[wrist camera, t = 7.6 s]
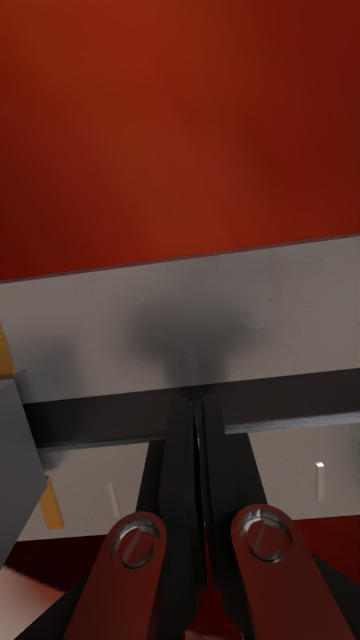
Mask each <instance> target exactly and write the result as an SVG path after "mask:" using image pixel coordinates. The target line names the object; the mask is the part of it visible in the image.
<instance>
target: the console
mask: <svg viewBox="0 0 360 640" xmlns="http://www.w3.org/2000/svg"><path fill="white" fill-rule="evenodd" d="M8 379H14V381H15V384H16V387H17V390H18V393H19V396H20V400H21V403H22V406H23V409H24V412H25V415H26V418H27V421H28V424H29V427H30V430H31V434H32V437H33V440H34V443H35V446H36V449H37V452H38V455H39V458H40V461H41V464H42V468H43V471H44V474H45V477H46V480H47V483H48V486H47V488H46V489H45V491H44V493H43V495H42V496H41V498H40V500H39V502H38V504H37V505H36V507H35V509H34V511H33V513H32V514H31V516H30V518H29V520H28V521H27V523H26V525H25V527H24V529H23V530H22V532H21V534H20V536H19V538H18V539H17V541H26V540H39V539H52V538H65V537H78V536H90V535H103V534H108V533H109V531H110V529H111V528H112V527H113V526H114V525H115V524H116V523H117V522H118V521H119V520H120V519H122V518H123V517H125V516H126V515H129V514H132V513H134V512H135V510H136V505H137V500H138V495H139V490H140V485H141V480H142V475H143V470H144V465H145V460H146V455H147V450H148V445H149V442H150V441H151V440H163V439H166V432H167V424H168V416H169V408H170V400H171V399H178V398H186V399H187V402H192V401H193V406H194V414H195V421H196V428H197V436H198V443H199V428H198V401H203V396H210V395H219V399H220V405H221V411H222V417H223V423H224V428H225V434H234V433H246V432H247V433H248V436H249V439H250V443H251V446H252V450H253V453H254V457H255V460H256V464H257V467H258V471H259V474H260V478H261V481H262V485H263V488H264V492H265V495H266V499H267V502H268V505H271V506H274V507H276V508H278V509H280V510H282V511H283V512H284V513H285V514H286V515H288V516H289V517H290V518H291V520H296V519H309V518H322V517H335V516H347V515H360V232H359V233H352V234H344V235H337V236H329V237H322V238H314V239H307V240H299V241H292V242H285V243H277V244H270V245H262V246H255V247H247V248H240V249H232V250H225V251H218V252H210V253H203V254H195V255H188V256H180V257H173V258H165V259H158V260H151V261H143V262H136V263H128V264H121V265H113V266H106V267H98V268H91V269H84V270H76V271H69V272H61V273H54V274H46V275H39V276H31V277H24V278H17V279H9V280H2V281H0V380H8ZM204 523H205V521H204Z"/></svg>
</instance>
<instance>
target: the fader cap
mask: <svg viewBox="0 0 360 640" xmlns="http://www.w3.org/2000/svg"><path fill="white" fill-rule="evenodd" d="M47 486H48V483H47V480H46V477H45V474H44V471H43V468H42V464H41V461H40V458H39V455H38V452H37V449H36V446H35V443H34V440H33V437H32V434H31V430H30V427H29V424H28V421H27V418H26V415H25V412H24V409H23V406H22V403H21V400H20V396H19V393H18V390H17V387H16V384H15V381H14V379H8V380H0V570H1V568H2V566H3V564H4V563H5V561H6V559H7V557H8V555H9V554H10V552H11V550H12V548H13V546H14V545H15V543H16V541H17V539H18V538H19V536H20V534H21V532H22V530H23V529H24V527H25V525H26V523H27V521H28V520H29V518H30V516H31V514H32V513H33V511H34V509H35V507H36V505H37V504H38V502H39V500H40V498H41V496H42V495H43V493H44V491H45V489H46V488H47Z"/></svg>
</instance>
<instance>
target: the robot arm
mask: <svg viewBox="0 0 360 640" xmlns="http://www.w3.org/2000/svg"><path fill="white" fill-rule="evenodd" d="M198 428H199V443H198V436H197V428H196V421H195V414H194V406H193V401H192V402H187V399H186V398H178V399H171V400H170V408H169V416H168V424H167V432H166V439H163V440H151V441H150V442H149V445H148V450H147V455H146V460H145V465H144V470H143V475H142V480H141V485H140V490H139V495H138V500H137V505H136V510H135V512H134V513H132V514H129V515H126V516H125V517H123V518H122V519H120V520H119V521H118V522H117V523H116V524H115V525H114V526H113V527H112V528H111V529H110V531H109V533H108V534H107V536H106V538H105V540H104V542H103V545H102V547H101V549H100V552H99V554H98V556H97V559H96V561H95V563H94V566H93V568H92V570H91V571H89V572H88V573H87V574H86V575H85V576H84V577H83V578H82V579H81V580H79V581H78V582H77V583H76V584H75V585H74V586H73V587H72V588H71V589H69V590H68V591H67V592H66V593H65V594H64V595H63V596H62V597H61V598H60V599H58V600H57V601H56V602H55V603H54V604H53V605H52V606H51V607H49V608H48V609H47V610H46V611H45V612H44V613H43V614H42V615H41V616H39V617H38V618H37V619H36V620H35V621H34V622H33V623H32V624H30V625H29V626H28V627H27V628H26V629H25V630H24V631H23V632H22V633H20V635H18V636H17V637H16V638H15V639H14V640H185V628H186V627H187V626H188V624H189V623H190V622H191V620H192V619H193V618H194V616H195V615H196V614H197V607H200V590H206V589H207V566H206V545H205V528H206V536H207V543H208V550H209V557H210V564H211V571H212V579H213V586H214V589H221V592H222V600H223V607H224V613H225V614H226V615H227V616H228V617H229V618H230V619H231V621H232V622H233V623H234V624H235V625H236V626H237V627H238V628H239V629H240V630H241V632H242V639H243V640H360V586H359V585H357V584H356V583H354V582H353V581H351V580H350V579H349V578H347V577H346V576H344V575H343V574H342V573H340V572H339V571H337V570H336V569H334V568H333V567H332V566H330V565H329V564H327V563H326V562H325V561H323V560H322V559H320V558H319V557H317V556H316V555H315V554H313V553H312V552H310V551H309V550H308V548H307V546H306V544H305V542H304V540H303V538H302V536H301V534H300V532H299V530H298V528H297V527H296V525H295V524H294V522H293V521H292V520H291V518H290V517H289V516H288V515H286V514H285V513H284V512H283V511H282V510H280V509H278V508H276V507H274V506H271V505H268V502H267V499H266V495H265V492H264V488H263V485H262V481H261V478H260V474H259V471H258V467H257V464H256V460H255V457H254V453H253V450H252V446H251V443H250V439H249V436H248V433H247V432H246V433H234V434H225V428H224V423H223V417H222V411H221V405H220V399H219V395H210V396H203V401H198ZM204 521H205V523H204Z"/></svg>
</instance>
